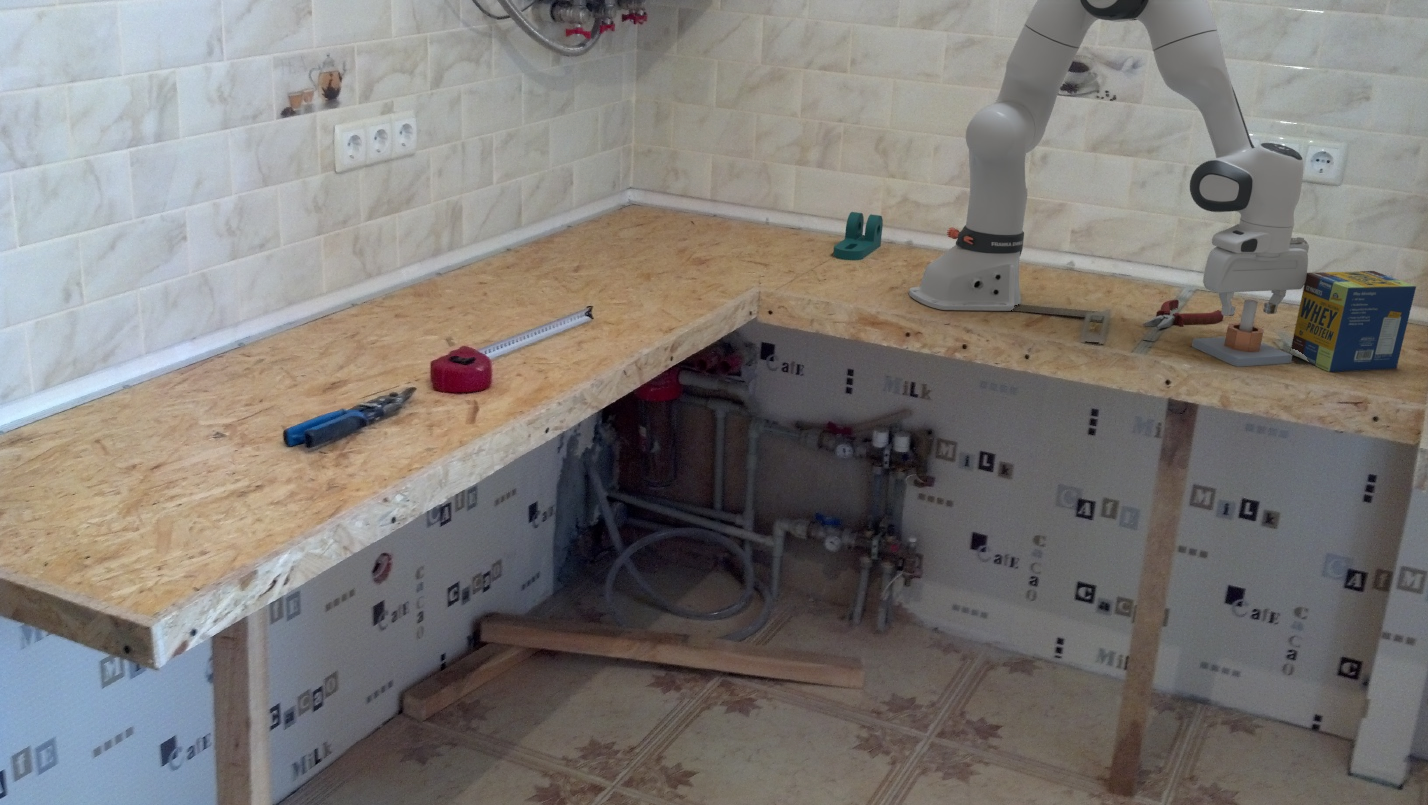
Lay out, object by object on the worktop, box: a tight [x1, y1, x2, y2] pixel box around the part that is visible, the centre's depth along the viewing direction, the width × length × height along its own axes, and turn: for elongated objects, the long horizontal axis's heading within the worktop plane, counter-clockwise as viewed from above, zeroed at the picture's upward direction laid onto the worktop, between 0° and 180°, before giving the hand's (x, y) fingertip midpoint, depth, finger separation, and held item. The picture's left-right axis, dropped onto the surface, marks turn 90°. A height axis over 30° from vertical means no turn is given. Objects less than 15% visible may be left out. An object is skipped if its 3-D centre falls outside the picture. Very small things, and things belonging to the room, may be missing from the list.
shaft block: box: [1191, 299, 1293, 368], centre depth 244 cm, size 12×12×10 cm
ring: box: [1224, 322, 1265, 352], centre depth 245 cm, size 6×6×4 cm
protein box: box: [1290, 270, 1417, 373], centre depth 243 cm, size 10×15×16 cm
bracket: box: [832, 211, 884, 261], centre depth 305 cm, size 18×7×8 cm, turn 158°
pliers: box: [1142, 299, 1225, 329], centre depth 265 cm, size 12×20×3 cm, turn 135°
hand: (1248, 314), depth 243 cm, fingers open, 8 cm apart
